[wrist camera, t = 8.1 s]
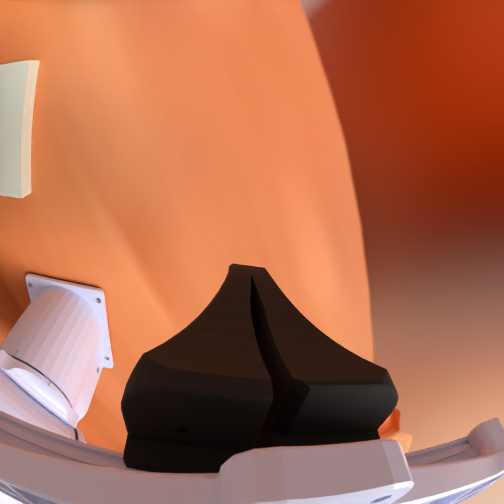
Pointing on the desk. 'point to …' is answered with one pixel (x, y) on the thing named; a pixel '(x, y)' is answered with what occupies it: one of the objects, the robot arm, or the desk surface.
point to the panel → (16, 126)
